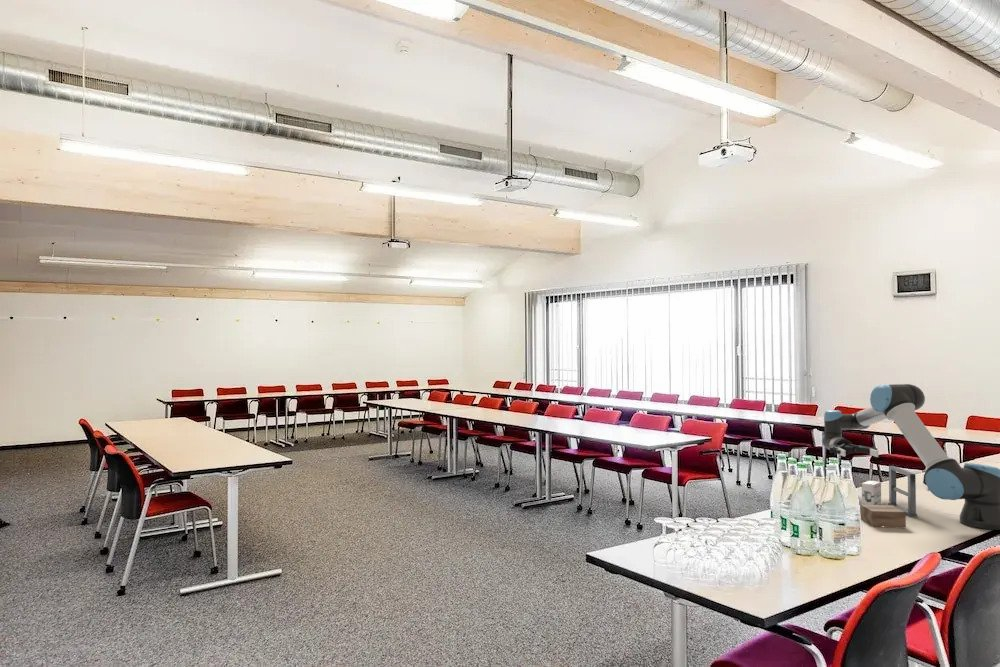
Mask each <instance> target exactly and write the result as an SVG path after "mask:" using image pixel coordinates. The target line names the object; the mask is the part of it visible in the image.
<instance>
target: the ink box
mask: <svg viewBox="0 0 1000 667" xmlns="http://www.w3.org/2000/svg"><path fill="white" fill-rule="evenodd" d="M861 505H882V482H881V481H878V480H877V481H876V480H866V481H865V482H862V483H861Z"/></svg>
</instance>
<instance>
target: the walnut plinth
mask: <svg viewBox="0 0 1000 667" xmlns="http://www.w3.org/2000/svg"><path fill="white" fill-rule="evenodd" d="M906 516H907V515H906V512H904V511H902V510H901V509H899V508H897V507H895V506H893V505H888V504H887V505H886V504H884V505H883V504H881V505H862V504H860V520H861V519H862V520H863V521H862V520H861V521H862V522H864V523H865V522H866V523H865V524H867V523H868V524H867V525H869V524H870V525H871V526H870V525H869V526H870V527H872V526H884V527H883V528H894V527H906V528H907V526H906V524H907V522H906V521H907V520H906V519H907V518H906Z"/></svg>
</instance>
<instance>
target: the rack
mask: <svg viewBox="0 0 1000 667" xmlns="http://www.w3.org/2000/svg"><path fill="white" fill-rule="evenodd" d="M897 473H899V474H901V475H904V476H906V477H907V491H906V490H903V489H901V488H899V487H897ZM916 477H917V476H916V473H913V472H910V471H907V470H905V469H904V468H900V467H899V466H895V465H888V489H889V490H888V494H889V495H888V497H889V498H888V501H889V502H887V505H893V506H895V507H897V508H899V509H901V510H902V511H904V512H906V516H907V515H908V516H907V517H909V516H917V517H918V513H917V499H916V498H917V490H916V489H917V488H916ZM897 492H898V493H899V494H901V495H904V496H905V497H907V507H905V506H903V505H900V504H899V503H897Z"/></svg>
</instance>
